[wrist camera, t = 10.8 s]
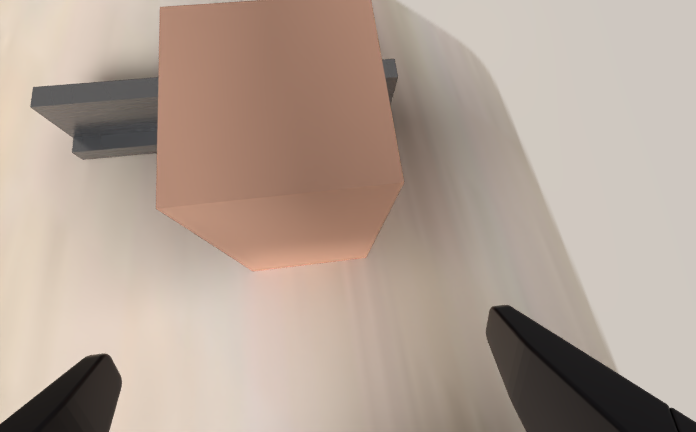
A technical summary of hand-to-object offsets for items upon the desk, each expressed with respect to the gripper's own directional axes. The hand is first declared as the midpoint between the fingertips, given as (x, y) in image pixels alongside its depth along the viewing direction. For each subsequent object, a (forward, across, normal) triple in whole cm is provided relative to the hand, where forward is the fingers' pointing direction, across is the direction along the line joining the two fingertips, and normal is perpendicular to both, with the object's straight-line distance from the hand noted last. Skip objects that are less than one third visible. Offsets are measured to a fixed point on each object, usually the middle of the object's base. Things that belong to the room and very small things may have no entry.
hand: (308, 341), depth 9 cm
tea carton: (+10, 0, +2) cm, 10 cm away
